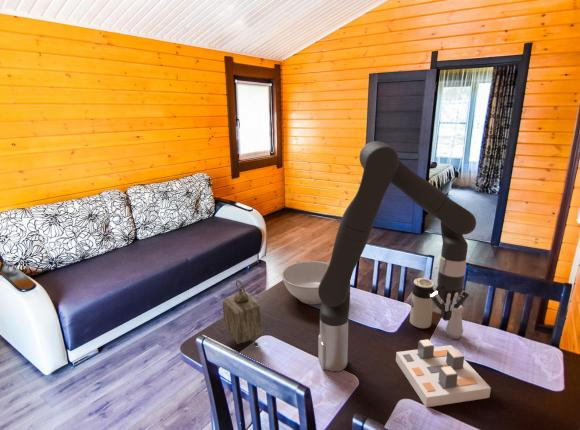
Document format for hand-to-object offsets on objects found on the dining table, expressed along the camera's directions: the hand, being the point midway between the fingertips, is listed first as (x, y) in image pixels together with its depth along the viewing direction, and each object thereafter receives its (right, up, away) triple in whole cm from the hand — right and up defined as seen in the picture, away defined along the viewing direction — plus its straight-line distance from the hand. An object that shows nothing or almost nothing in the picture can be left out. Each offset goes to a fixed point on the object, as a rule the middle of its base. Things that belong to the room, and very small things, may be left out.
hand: (445, 319), depth 116 cm
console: (-3, -18, -2) cm, 18 cm away
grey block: (-4, -16, -10) cm, 19 cm away
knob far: (-6, -12, +3) cm, 14 cm away
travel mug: (+1, -10, +27) cm, 28 cm away
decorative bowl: (-40, -4, +48) cm, 63 cm away
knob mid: (+2, -14, -3) cm, 14 cm away
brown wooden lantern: (-68, -14, +18) cm, 71 cm away
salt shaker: (+11, -12, +18) cm, 24 cm away
